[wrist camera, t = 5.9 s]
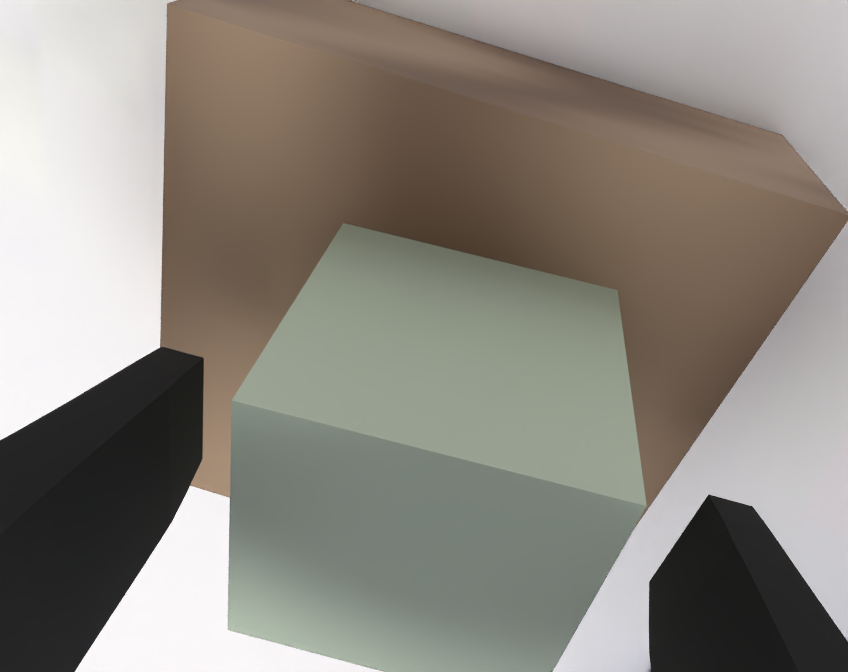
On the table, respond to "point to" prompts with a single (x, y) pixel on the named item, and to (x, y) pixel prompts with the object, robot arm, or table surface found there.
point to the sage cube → (431, 461)
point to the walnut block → (467, 196)
